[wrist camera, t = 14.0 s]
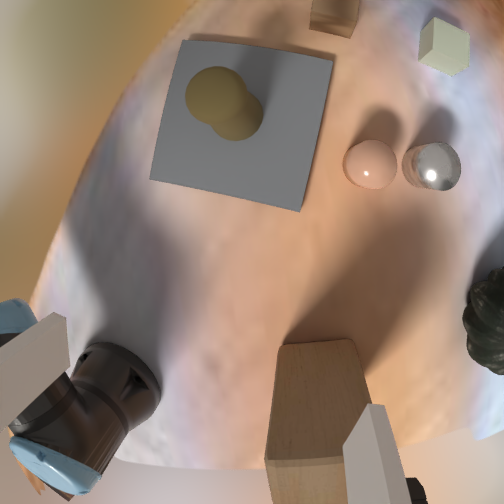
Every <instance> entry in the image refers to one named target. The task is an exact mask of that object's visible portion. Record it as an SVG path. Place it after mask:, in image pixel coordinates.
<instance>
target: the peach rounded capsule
mask: <svg viewBox="0 0 504 504" xmlns="http://www.w3.org/2000/svg"><path fill="white" fill-rule="evenodd" d="M343 171H344V173H345V175H346V177H347V179H348V180H349V181H350V182H351V183H353V184H355V185H357V186H360V187H365V188H370V189H380V188H383V187H385V186H387V185H389V184H390V183H391V182H392V180H393V179H394V177H395V175H396V172H397V159H396V156H395V154H394V152H393V151H392V149H391V148H390V147H389V146H388V145H387V144H385V143H384V142H381V141H379V140H366V141H363V142H361V143H359V144H357V145H355V146H353V147H351V148H350V149H349V150H348V151H347V152H346V154H345V156H344V158H343Z"/></svg>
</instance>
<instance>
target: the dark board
mask: <svg viewBox="0 0 504 504" xmlns="http://www.w3.org/2000/svg"><path fill="white" fill-rule="evenodd" d="M332 65H333V61H330V60H325V59H321V58H317V57H313V56H308V55H303V54H299V53H293V52H288V51H283V50H277V49H271V48H265V47H258V46H251V45H243V44H234V43H224V42H212V41H197V40H183V41H182V44H181V47H180V50H179V54H178V57H177V61H176V64H175V68H174V71H173V75H172V79H171V82H170V86H169V90H168V94H167V98H166V102H165V106H164V110H163V114H162V119H161V123H160V128H159V132H158V137H157V142H156V147H155V152H154V157H153V162H152V167H151V173H150V178H149V179H150V180H155V181H161V182H166V183H171V184H176V185H181V186H186V187H191V188H195V189H200V190H205V191H210V192H214V193H219V194H224V195H228V196H233V197H237V198H241V199H246V200H250V201H255V202H259V203H263V204H267V205H272V206H276V207H280V208H284V209H288V210H292V211H296V212H300V210H301V205H302V201H303V197H304V193H305V189H306V185H307V180H308V176H309V172H310V168H311V163H312V159H313V154H314V150H315V146H316V141H317V137H318V132H319V128H320V123H321V118H322V114H323V109H324V104H325V99H326V95H327V90H328V85H329V80H330V75H331V70H332ZM213 66H223V67H226V68H229V69H231V70H234V71H235V72H236V73H238V74H239V75H240V76H241V77H242V79H243V81H244V82H245V84H246V86H247V91H248V92H250V93H251V94H253V95H254V96H255V97H256V98H257V99H258V100H259V102H260V104H261V105H262V109H263V120H262V124H261V125H260V127H259V129H258V131H257V132H255V133H254V134H253V135H252V136H251V137H249V138H247V139H245V140H240V141H230V140H226V139H224V138H222V137H220V136H219V135H218V134H217V133H216V132H215V131H214V130H213V128H212V127H211V125H209V124H205V123H203V122H201V121H199V120H197V119H196V118H195V117H194V116H193V115H192V114H191V113H190V111H189V110H188V108H187V106H186V101H185V92H186V87H187V85H188V84H189V82H190V80H191V79H192V78H193V77H194V76H195V75H196V74H197V73H198V72H200V71H201V70H203V69H205V68H208V67H213Z"/></svg>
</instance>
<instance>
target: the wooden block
mask: <svg viewBox="0 0 504 504" xmlns="http://www.w3.org/2000/svg"><path fill="white" fill-rule="evenodd" d="M368 403H369V404H372V402H371V398H370V394H369V391H368V387H367V384H366V381H365V377H364V374H363V370H362V367H361V364H360V360H359V357H358V354H357V351H356V347H355V345H354V343H353V341H352V340H350V339H340V340H331V341H321V342H310V343H298V344H285V345H283V346H281V347H280V348H279V351H278V356H277V365H276V373H275V382H274V390H273V398H272V406H271V414H270V421H269V429H268V436H267V443H266V450H265V457H264V460H265V466H266V471H267V476H268V480H269V486H270V491H271V496H272V501H273V504H348V496H347V485H346V475H345V465H344V455H343V445H344V443H345V441H346V440H347V438H348V437H349V435H350V433H351V432H352V430H353V428H354V427H355V425H356V423H357V422H358V420H359V418H360V416H361V415H362V413H363V411H364V409H365V408H366V406H367V404H368Z"/></svg>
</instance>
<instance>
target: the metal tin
mask: <svg viewBox="0 0 504 504" xmlns="http://www.w3.org/2000/svg"><path fill="white" fill-rule="evenodd" d="M402 171H403V174H404V176H405V178H406V180H407V181H408V182H409V183H410V184H411V185H413V186H415V187H418V188H426V189H433V190H441V191H445V190H449V189H451V188H452V187H454V186H455V185H456V183H457V182H458V180H459V178H460V174H461V164H460V160H459V157H458V155H457V153H456V152H455V150H454V149H453V148H452V147H451V146H449V145H448V144H445V143H442V142H435V143H430V144H426V145H421V146H416V147H412V148H410V149H409V150H408V151H407V152H406V153H405V155H404V157H403V160H402Z"/></svg>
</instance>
